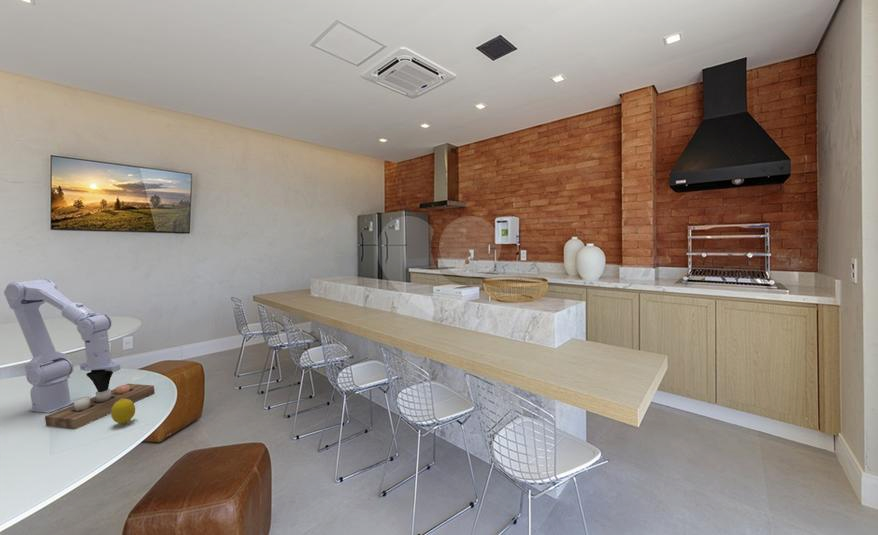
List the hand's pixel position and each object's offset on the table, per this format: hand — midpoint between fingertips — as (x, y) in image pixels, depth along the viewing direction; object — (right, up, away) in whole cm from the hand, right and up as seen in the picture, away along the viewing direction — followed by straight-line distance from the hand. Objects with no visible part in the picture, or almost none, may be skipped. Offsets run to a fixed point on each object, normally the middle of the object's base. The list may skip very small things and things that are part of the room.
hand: (103, 390), depth 119 cm
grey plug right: (-1, -4, -6) cm, 7 cm away
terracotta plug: (+1, -4, +6) cm, 7 cm away
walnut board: (0, -6, +1) cm, 6 cm away
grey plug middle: (0, -3, 0) cm, 3 cm away
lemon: (+16, -7, -10) cm, 20 cm away
